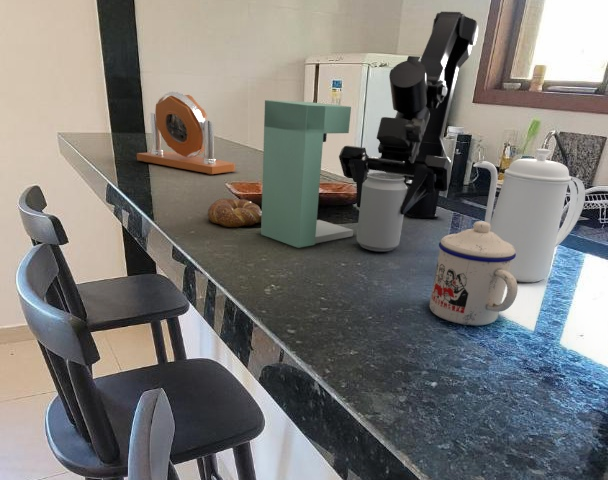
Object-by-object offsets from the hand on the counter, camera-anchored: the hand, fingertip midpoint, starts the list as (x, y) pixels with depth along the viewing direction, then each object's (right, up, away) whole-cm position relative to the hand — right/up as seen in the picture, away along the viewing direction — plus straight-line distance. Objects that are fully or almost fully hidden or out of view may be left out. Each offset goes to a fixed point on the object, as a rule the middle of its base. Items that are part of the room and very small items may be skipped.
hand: (379, 209), depth 89 cm
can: (0, -5, +4) cm, 7 cm away
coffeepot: (+21, -11, -3) cm, 24 cm away
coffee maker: (-12, -2, +9) cm, 15 cm away
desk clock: (-48, +33, +71) cm, 91 cm away
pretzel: (-26, +2, +15) cm, 30 cm away
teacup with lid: (+8, -20, -21) cm, 30 cm away
